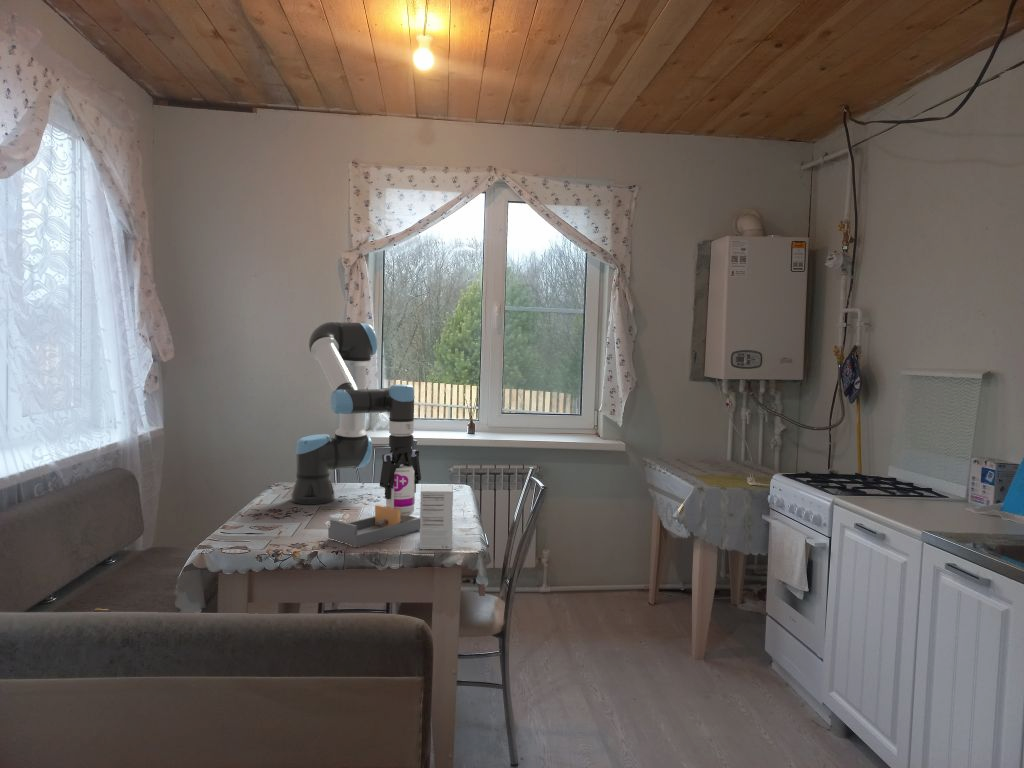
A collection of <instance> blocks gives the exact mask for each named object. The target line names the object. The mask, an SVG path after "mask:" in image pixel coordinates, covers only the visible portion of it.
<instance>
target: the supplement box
mask: <svg viewBox="0 0 1024 768" xmlns="http://www.w3.org/2000/svg"><path fill="white" fill-rule="evenodd" d="M419 505H420V506H419V510H420V511H419V513H420V515H419V517H420V530H419V550H420V549H451V548H452V549H453V505H454V484H447V483H445V484H442V483H441V484H438V483H437V484H436V483H435V484H429V483H428V484H427V483H426V484H424V483H423V484H422V486H421V489H420V504H419Z"/></svg>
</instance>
